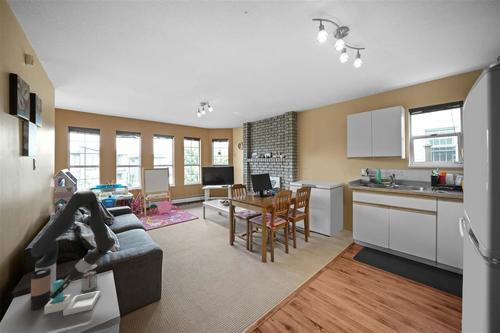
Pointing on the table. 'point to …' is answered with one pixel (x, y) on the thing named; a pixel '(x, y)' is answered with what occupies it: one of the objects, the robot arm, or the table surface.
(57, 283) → the dowel
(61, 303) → the square box
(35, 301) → the travel mug
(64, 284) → the robot arm
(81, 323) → the table surface
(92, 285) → the french press
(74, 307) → the tray
